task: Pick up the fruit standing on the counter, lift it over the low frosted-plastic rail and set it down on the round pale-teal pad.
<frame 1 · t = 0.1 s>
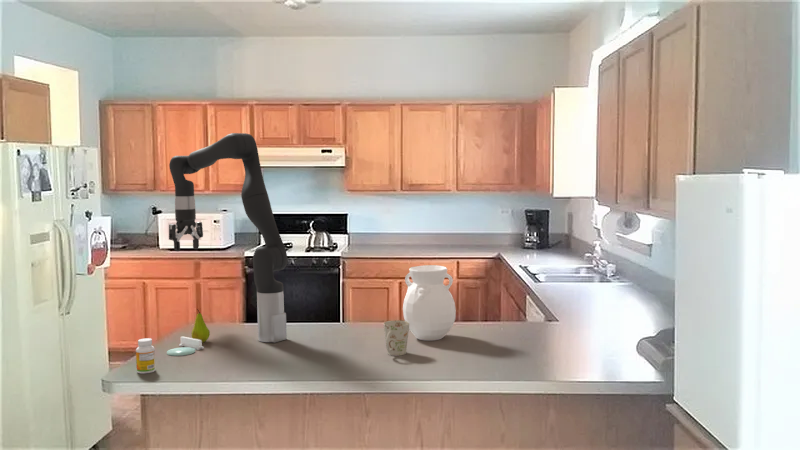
hand: (186, 250, 291), 29 cm above the countertop, fingers open, 8 cm apart
white handled vase: (429, 338, 267), on the countertop
pad: (181, 352, 250), on the countertop
rail: (191, 347, 257), on the countertop
fruit: (200, 342, 264), on the countertop
mug: (394, 355, 244), on the countertop
supplement bottle: (146, 372, 228), on the countertop
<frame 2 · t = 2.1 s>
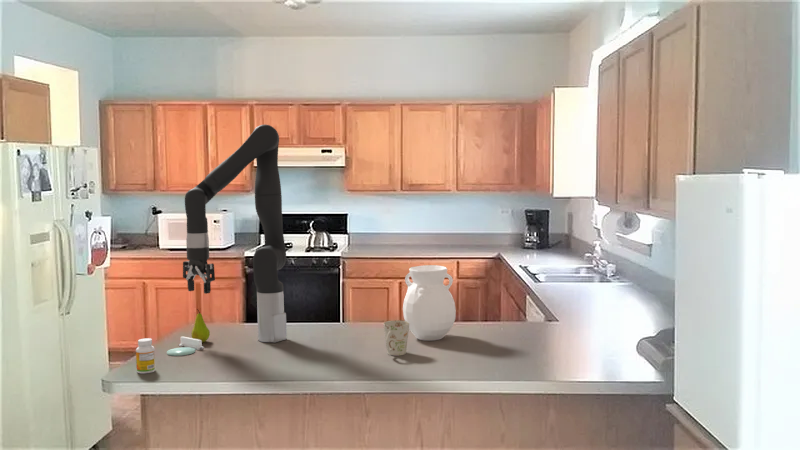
hand: (199, 292, 263), 18 cm above the countertop, fingers open, 8 cm apart
nothing on the countertop moved.
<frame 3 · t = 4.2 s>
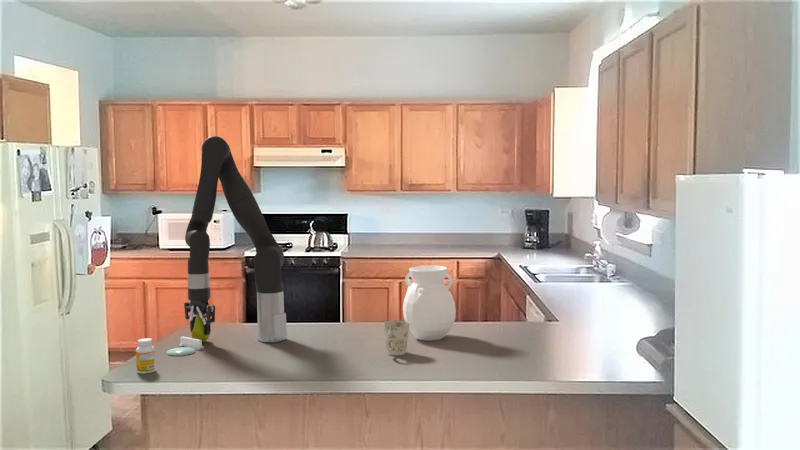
hand: (200, 333, 264), 3 cm above the countertop, fingers closed on fruit, 6 cm apart
fruit: (200, 342, 264), on the countertop, touching gripper
everything else where it was.
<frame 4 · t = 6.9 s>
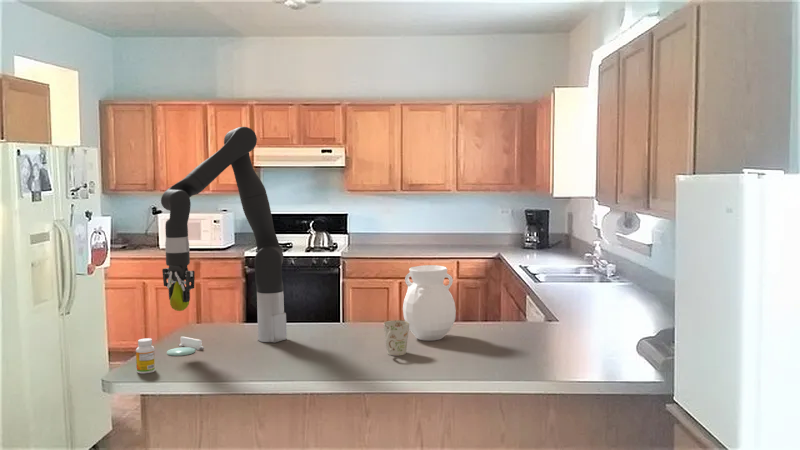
hand: (179, 300, 249), 17 cm above the countertop, fingers closed on fruit, 6 cm apart
fruit: (179, 311, 249), point 14 cm above the countertop, touching gripper
everything else where it was.
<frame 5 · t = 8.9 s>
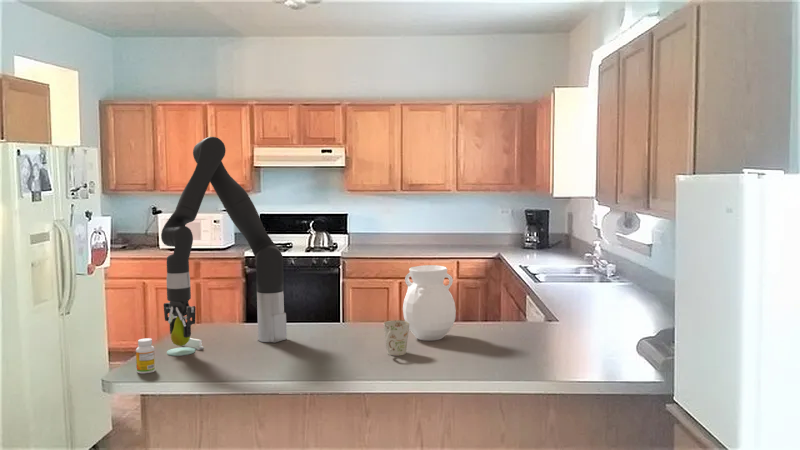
hand: (180, 335, 250), 6 cm above the countertop, fingers closed on fruit, 6 cm apart
fruit: (180, 345, 250), point 2 cm above the countertop, touching gripper
everything else where it was.
when the fingers open (5 cm above the countertop, at t = 10.0 s): fruit drops 1 cm, resting on pad.
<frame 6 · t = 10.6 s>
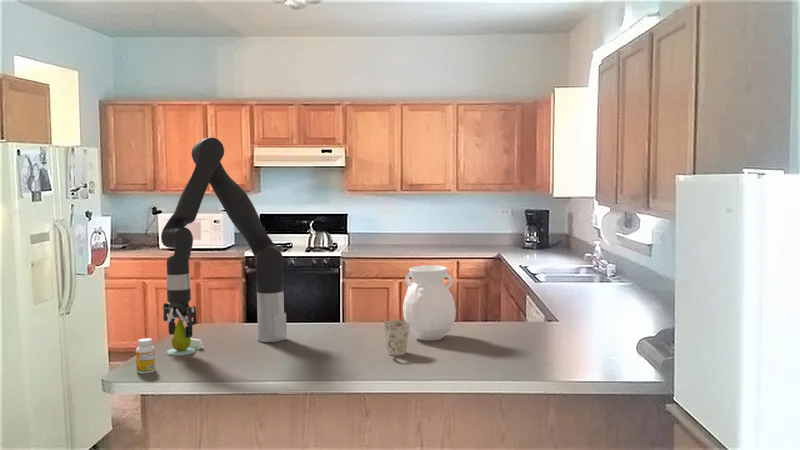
hand: (180, 335, 250), 6 cm above the countertop, fingers open, 8 cm apart
fruit: (181, 351, 250), resting on pad
everything else where it was.
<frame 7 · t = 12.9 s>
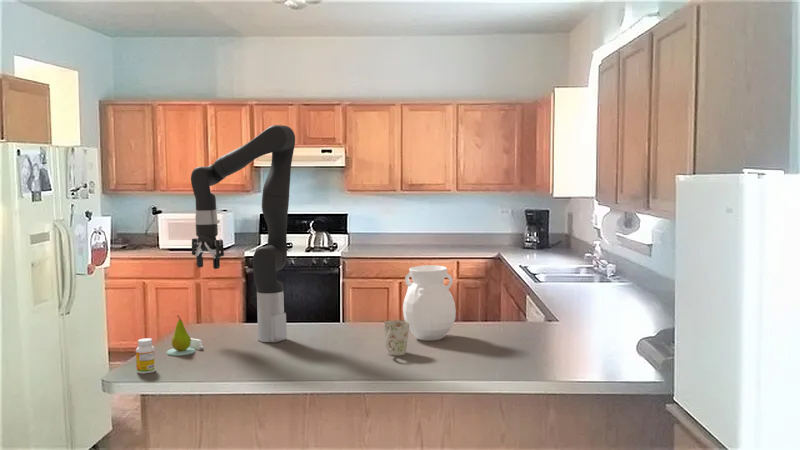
hand: (208, 267, 270), 25 cm above the countertop, fingers open, 8 cm apart
nothing on the countertop moved.
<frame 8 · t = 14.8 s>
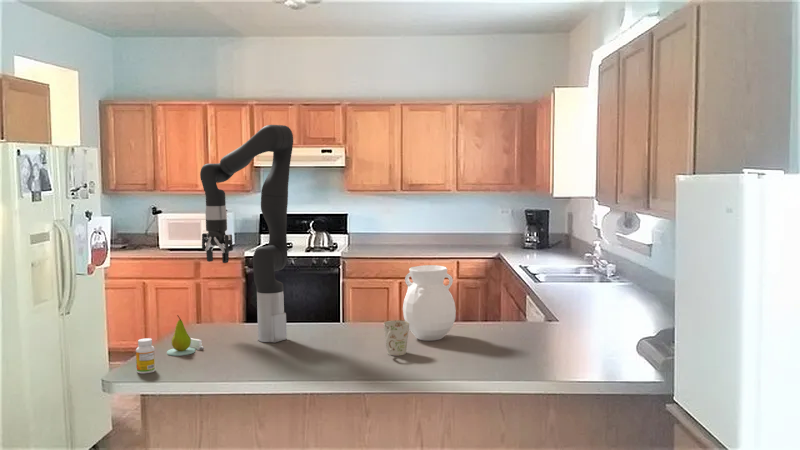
hand: (217, 262, 278), 26 cm above the countertop, fingers open, 8 cm apart
nothing on the countertop moved.
at the end: fruit 0.2 cm from the pad (horizontally); fruit touching pad; the gripper is holding nothing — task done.
